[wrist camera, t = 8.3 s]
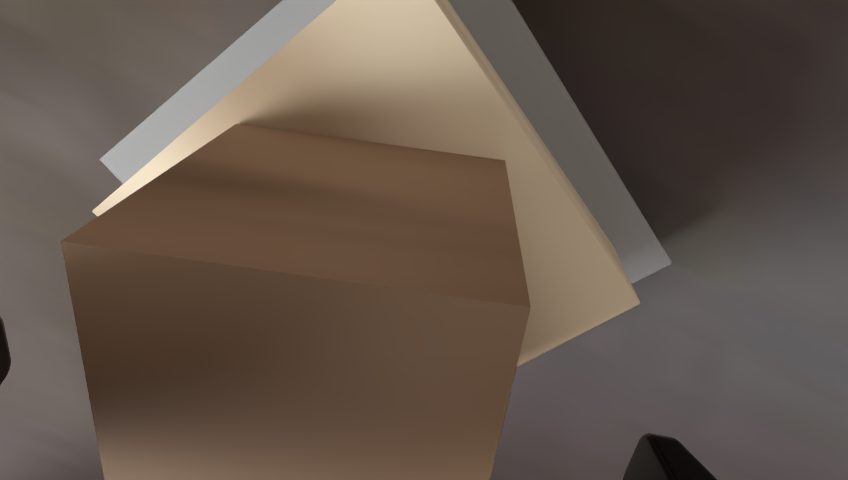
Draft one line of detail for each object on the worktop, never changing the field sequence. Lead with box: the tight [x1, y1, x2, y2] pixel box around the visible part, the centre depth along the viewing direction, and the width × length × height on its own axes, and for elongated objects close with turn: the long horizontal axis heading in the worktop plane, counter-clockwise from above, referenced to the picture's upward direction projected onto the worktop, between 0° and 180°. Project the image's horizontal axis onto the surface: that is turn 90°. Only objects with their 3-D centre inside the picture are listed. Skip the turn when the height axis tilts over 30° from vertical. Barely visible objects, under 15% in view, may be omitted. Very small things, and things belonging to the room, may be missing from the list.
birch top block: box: [92, 0, 640, 366], centre depth 13 cm, size 8×8×2 cm
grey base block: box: [100, 0, 672, 284], centre depth 15 cm, size 10×10×2 cm
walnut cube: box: [61, 124, 531, 480], centre depth 9 cm, size 5×5×5 cm
